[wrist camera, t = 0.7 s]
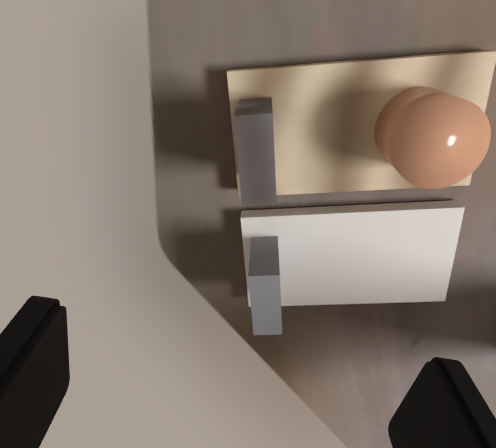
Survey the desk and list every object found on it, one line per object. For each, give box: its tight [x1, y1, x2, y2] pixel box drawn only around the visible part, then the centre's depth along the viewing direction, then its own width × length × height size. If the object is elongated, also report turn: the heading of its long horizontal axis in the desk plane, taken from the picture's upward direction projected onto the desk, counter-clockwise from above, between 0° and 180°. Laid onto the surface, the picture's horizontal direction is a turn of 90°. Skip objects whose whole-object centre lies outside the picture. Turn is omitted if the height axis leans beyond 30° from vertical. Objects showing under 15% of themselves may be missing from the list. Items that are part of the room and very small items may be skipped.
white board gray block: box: [241, 200, 465, 335], centre depth 33 cm, size 19×10×8 cm, turn 94°
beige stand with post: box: [227, 50, 496, 205], centre depth 27 cm, size 19×10×8 cm, turn 94°
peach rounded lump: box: [374, 87, 491, 189], centre depth 26 cm, size 6×6×5 cm
